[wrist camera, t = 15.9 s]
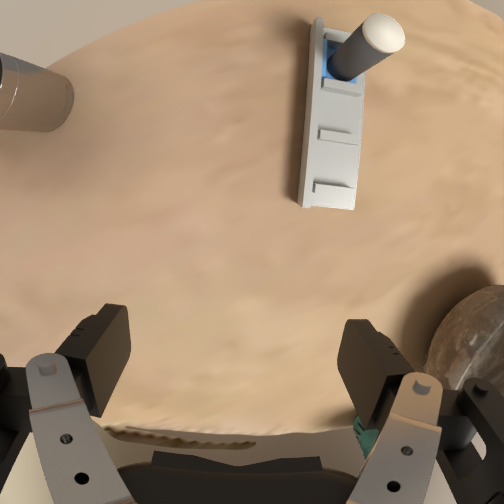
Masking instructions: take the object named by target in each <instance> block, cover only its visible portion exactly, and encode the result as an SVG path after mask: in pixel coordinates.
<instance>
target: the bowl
mask: <svg viewBox="0 0 504 504" xmlns="http://www.w3.org/2000/svg"><path fill="white" fill-rule="evenodd" d="M423 370H424V372H425V374H428V375H431V376H433V377H434V378H436V379H437V380H438V381H439V382H440V383H441V385H442V388H443V389H448V390H460V389H461V387H462V385H463V383H464V381H465V380H466V379H468V378H472V377H476V378H481V379H484V380H486V381H488V382H490V383H491V384H492V385H493V386H494V387H495V388H496V389H497V390H498V391H499V392H500V394H501V395H502V396H503V397H504V285H493V286H488V287H485V288H482V289H480V290H478V291H476V292H474V293H472V294H470V295H469V296H467V297H466V298H464V299H463V300H461V301H460V302H459V303H458V304H457V305H455V306H454V307H453V308H452V309H451V311H450V312H449V313H448V314H447V315H446V317H445V318H444V319H443V320H442V322H441V323H440V325H439V327H438V328H437V330H436V332H435V334H434V337H433V339H432V342H431V344H430V348H429V351H428V357H427V362H426V363H425V364H424V365H423Z"/></svg>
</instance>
